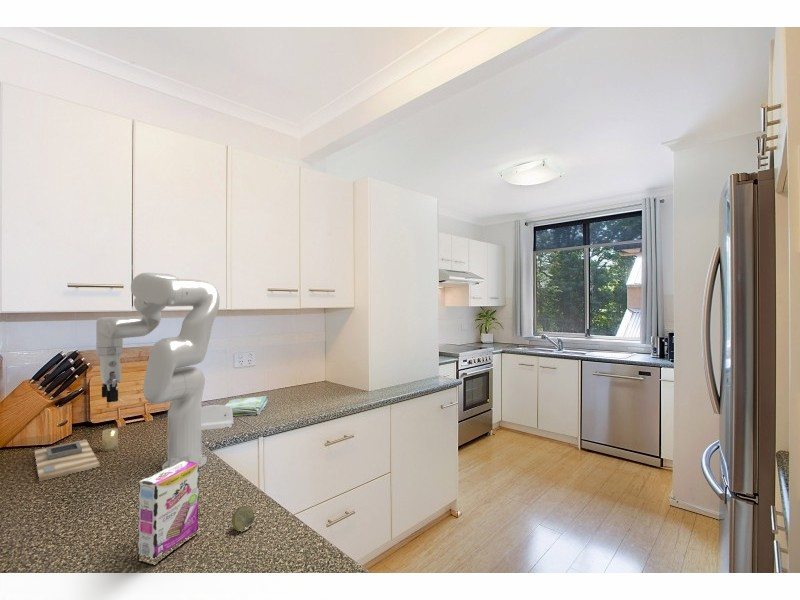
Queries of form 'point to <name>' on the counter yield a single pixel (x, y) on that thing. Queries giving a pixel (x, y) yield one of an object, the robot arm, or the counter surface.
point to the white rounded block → (216, 417)
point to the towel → (247, 405)
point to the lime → (242, 518)
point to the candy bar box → (168, 508)
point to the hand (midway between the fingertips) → (109, 399)
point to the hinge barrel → (110, 439)
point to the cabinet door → (64, 459)
